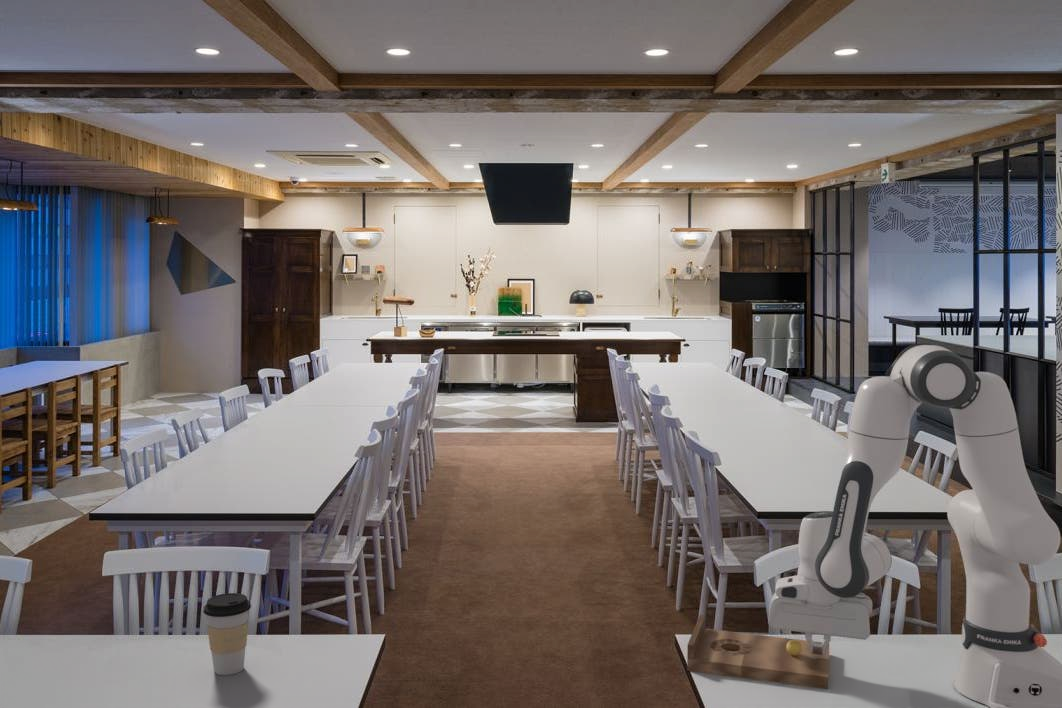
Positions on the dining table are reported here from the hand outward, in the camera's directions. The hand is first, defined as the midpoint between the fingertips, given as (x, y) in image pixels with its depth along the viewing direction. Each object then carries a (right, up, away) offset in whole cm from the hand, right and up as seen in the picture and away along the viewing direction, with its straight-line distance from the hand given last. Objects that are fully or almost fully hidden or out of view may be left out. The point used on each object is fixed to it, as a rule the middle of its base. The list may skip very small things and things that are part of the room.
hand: (817, 653), depth 189 cm
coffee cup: (-123, -4, 0) cm, 123 cm away
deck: (-11, -3, +4) cm, 12 cm away
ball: (-4, +1, +1) cm, 5 cm away
